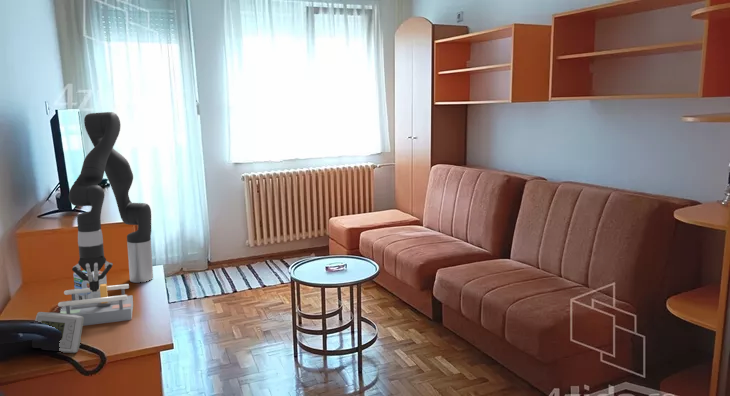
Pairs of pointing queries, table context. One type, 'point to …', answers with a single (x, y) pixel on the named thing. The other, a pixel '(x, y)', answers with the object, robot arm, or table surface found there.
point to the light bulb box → (85, 284)
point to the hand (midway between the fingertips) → (94, 290)
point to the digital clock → (64, 329)
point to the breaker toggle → (104, 295)
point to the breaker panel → (103, 314)
